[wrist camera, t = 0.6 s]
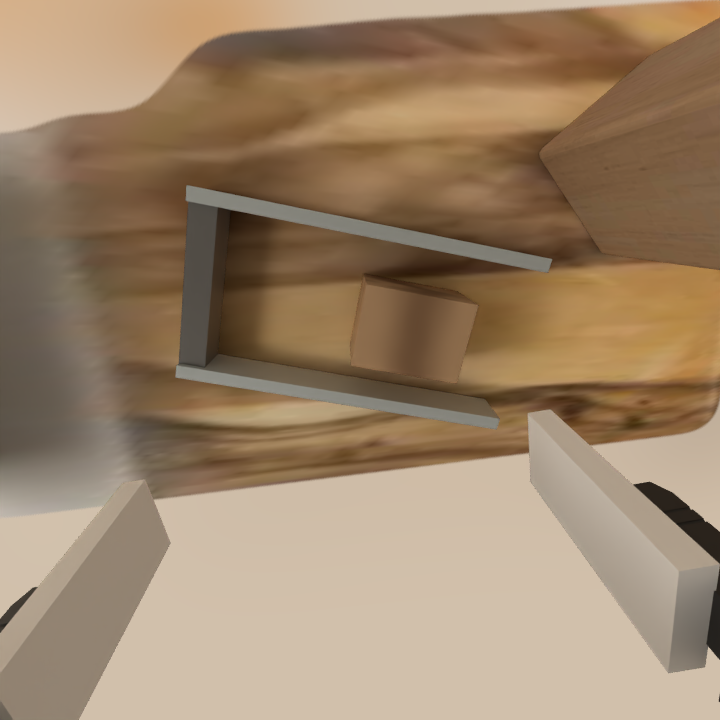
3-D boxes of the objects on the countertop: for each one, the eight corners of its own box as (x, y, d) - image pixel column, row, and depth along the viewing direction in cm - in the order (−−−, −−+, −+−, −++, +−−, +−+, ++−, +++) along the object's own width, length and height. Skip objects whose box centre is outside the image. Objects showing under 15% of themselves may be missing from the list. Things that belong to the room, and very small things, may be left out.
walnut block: (350, 342, 36) (350, 365, 30) (363, 273, 34) (366, 284, 29) (439, 358, 37) (456, 383, 31) (457, 291, 35) (478, 305, 29)
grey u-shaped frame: (193, 360, 36) (175, 377, 32) (205, 189, 32) (186, 185, 28) (481, 408, 38) (496, 429, 35) (529, 254, 34) (552, 259, 30)
